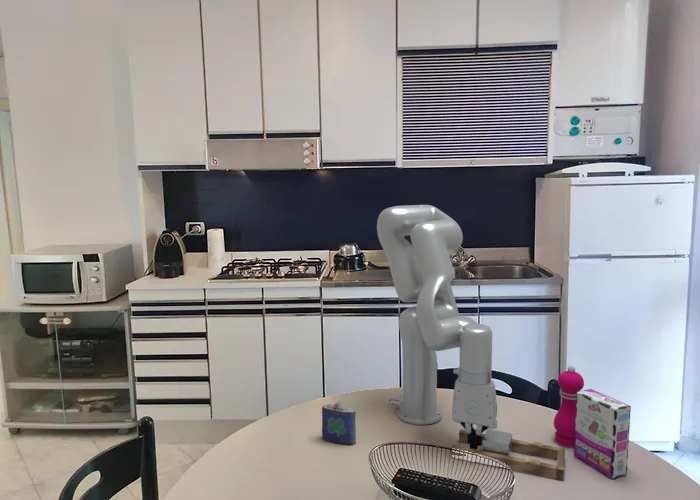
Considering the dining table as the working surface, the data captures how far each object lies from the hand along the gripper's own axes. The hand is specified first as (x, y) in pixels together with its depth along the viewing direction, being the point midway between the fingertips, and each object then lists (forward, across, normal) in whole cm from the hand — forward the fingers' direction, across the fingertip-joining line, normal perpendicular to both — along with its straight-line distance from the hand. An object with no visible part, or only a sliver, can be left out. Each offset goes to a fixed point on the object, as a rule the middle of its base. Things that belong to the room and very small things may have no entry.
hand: (474, 447), depth 128 cm
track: (+1, +8, 0) cm, 8 cm away
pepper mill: (+1, +21, +14) cm, 25 cm away
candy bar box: (+2, +28, +5) cm, 28 cm away
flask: (+1, -33, -8) cm, 34 cm away
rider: (+1, +6, 0) cm, 6 cm away
